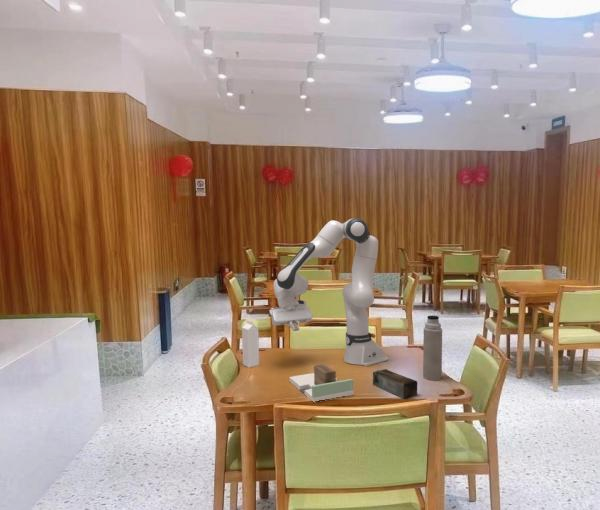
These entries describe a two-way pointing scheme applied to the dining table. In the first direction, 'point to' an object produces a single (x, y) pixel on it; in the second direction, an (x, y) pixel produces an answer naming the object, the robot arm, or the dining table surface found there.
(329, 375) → the walnut block
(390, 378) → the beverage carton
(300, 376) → the grey tray
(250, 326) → the milk
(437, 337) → the thermos bottle
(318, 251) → the robot arm
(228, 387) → the dining table surface
